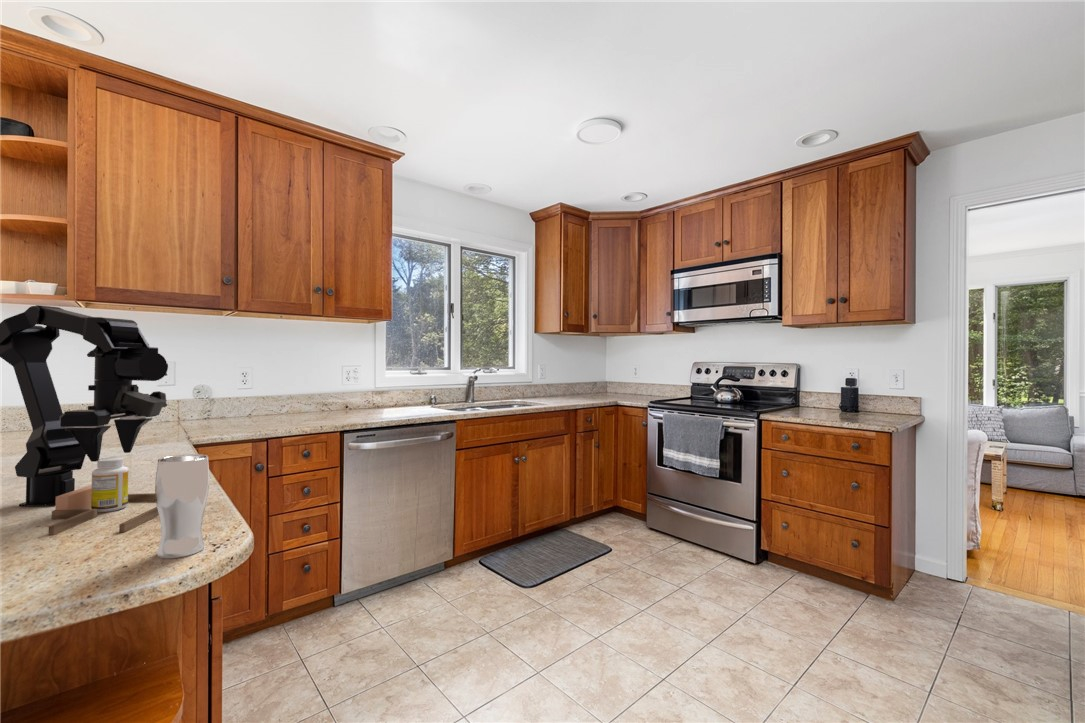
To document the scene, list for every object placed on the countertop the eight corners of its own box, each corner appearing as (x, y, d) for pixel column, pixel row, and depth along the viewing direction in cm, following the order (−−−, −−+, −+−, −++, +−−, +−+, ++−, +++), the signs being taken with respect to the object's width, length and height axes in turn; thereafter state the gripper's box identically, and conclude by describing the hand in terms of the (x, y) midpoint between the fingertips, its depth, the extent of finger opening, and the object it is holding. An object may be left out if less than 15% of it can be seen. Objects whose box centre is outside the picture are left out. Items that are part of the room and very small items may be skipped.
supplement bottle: (117, 503, 101) (118, 455, 101) (134, 507, 99) (135, 457, 99) (84, 511, 96) (85, 459, 96) (101, 514, 94) (102, 462, 94)
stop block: (55, 517, 92) (55, 496, 92) (94, 502, 101) (95, 483, 101) (67, 517, 92) (67, 496, 92) (105, 502, 102) (105, 483, 102)
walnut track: (6, 536, 82) (6, 527, 82) (97, 501, 102) (97, 494, 102) (124, 532, 85) (124, 524, 85) (190, 499, 105) (190, 492, 105)
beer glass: (164, 563, 72) (167, 464, 72) (145, 553, 76) (148, 458, 76) (215, 549, 78) (218, 457, 78) (195, 540, 82) (198, 452, 82)
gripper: (126, 382, 90) (124, 465, 90) (183, 378, 108) (182, 448, 108) (57, 381, 88) (56, 466, 88) (127, 378, 106) (126, 448, 106)
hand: (111, 456), depth 98 cm, fingers open, 9 cm apart
